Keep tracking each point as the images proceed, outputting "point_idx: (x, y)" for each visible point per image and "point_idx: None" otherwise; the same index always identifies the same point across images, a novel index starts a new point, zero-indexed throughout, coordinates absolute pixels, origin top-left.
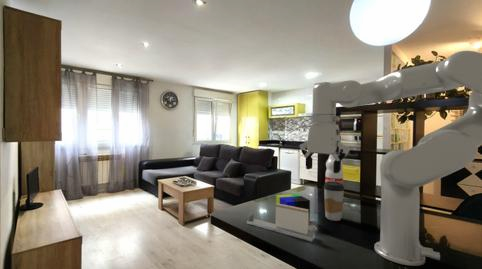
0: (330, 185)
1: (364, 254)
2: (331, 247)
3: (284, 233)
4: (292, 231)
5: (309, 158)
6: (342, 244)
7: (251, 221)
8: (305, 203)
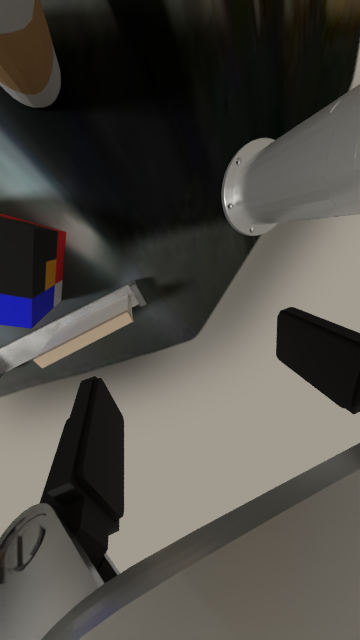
0: None
1: (220, 251)
2: (177, 282)
3: None
4: None
5: (114, 508)
6: (180, 252)
7: (9, 368)
8: (38, 250)
